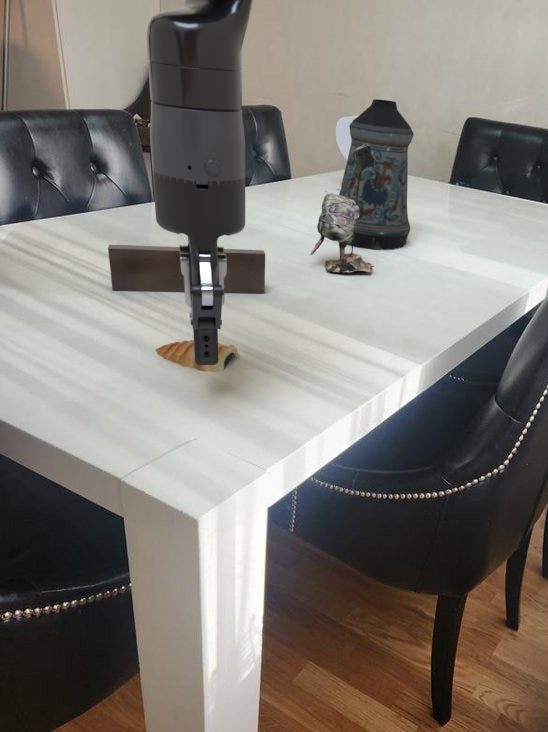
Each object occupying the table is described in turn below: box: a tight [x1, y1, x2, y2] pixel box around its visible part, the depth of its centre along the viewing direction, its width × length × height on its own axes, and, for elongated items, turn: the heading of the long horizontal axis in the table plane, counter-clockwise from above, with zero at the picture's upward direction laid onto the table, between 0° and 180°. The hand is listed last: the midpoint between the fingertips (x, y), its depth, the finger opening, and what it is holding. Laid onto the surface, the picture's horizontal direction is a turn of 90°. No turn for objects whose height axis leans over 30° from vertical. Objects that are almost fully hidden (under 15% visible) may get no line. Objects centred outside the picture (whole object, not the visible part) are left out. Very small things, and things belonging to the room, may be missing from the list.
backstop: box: [107, 244, 266, 294], centre depth 96 cm, size 22×2×6 cm, turn 104°
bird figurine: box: [309, 144, 376, 274], centre depth 109 cm, size 8×11×20 cm
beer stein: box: [338, 99, 415, 251], centre depth 129 cm, size 16×19×25 cm
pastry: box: [155, 339, 240, 373], centre depth 74 cm, size 9×7×4 cm
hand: (206, 361), depth 63 cm, fingers closed
